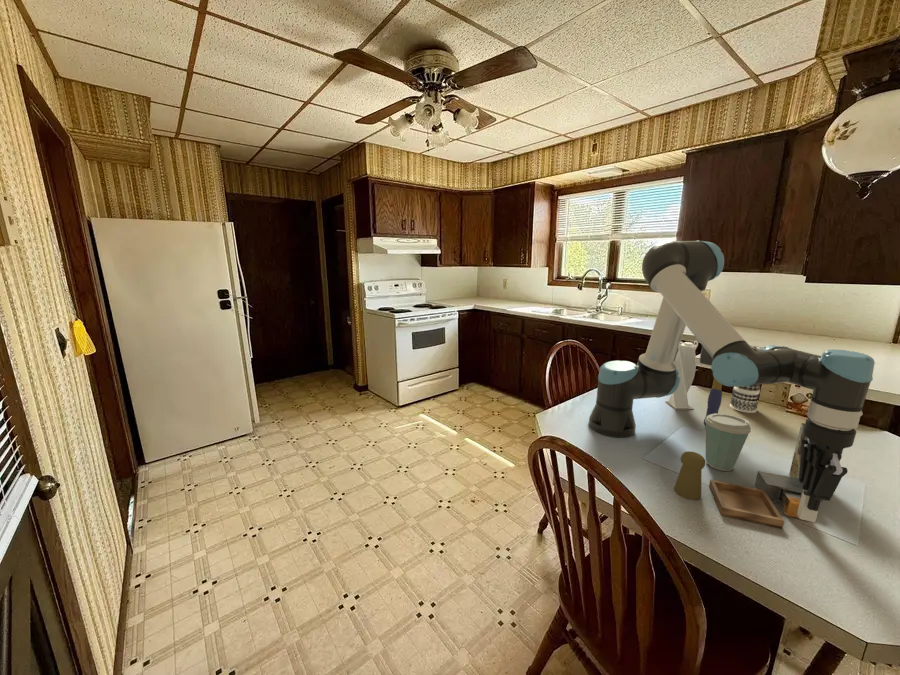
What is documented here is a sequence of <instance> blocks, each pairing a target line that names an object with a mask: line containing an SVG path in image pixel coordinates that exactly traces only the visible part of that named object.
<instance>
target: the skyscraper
mask: <svg viewBox="0 0 900 675" xmlns="http://www.w3.org/2000/svg"><path fill="white" fill-rule="evenodd" d="M698 347H699V341H698V340H694V341H693V342H690V341H685V342H683V341H682V340H681V341H680V344H679V347H678V349H677V352H676V355H675V358H674V360H673V361H674V362H675V364H676V366H677V368H676V369H677V370H678V372H679V375H678V377H680V382H679V386H678V388H677V389H676V391H675V392H674V393H672V394H671V396H670V398H668V399H669V400H668V401H665V403H666V404H667V405H668V406H670V407H671V408H673V410H675V411H676V410H677V411H678V410H679V411H681V410H684V411H685V410H686V411H688V410H690V411H691V410H693V411H694V408H693V407H692V406H690V405H689V401H688V399H689V398H688V392H689V391H690V389H691V386H692V384H693V382H694V379H695V374H696V371H697V370H696V368H697V357H696V356H697V355H696V350H697V349H698Z"/></svg>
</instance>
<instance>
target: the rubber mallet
mask: <svg viewBox="0 0 900 675" xmlns="http://www.w3.org/2000/svg"><path fill="white" fill-rule="evenodd" d="M699 355H700V356H699V363H700V364H702V365H707V366H711V365H712V362H713V360H714V359H713V358H712V357H711V356H710V354H709V353H708V352H707V351H706V349H705V348H704V347H703V346H702V345H701V350H700V354H699ZM722 387H723V384H721V383H719V382H718V381H717V380H716V379H715V378H714V377H713V381H712V387H711V389H710V391H709V394H708V398H707V409H706V414H705V417H704V420H703V425H704V427H705V428H706V422H705V420H706V417H707V416H708V415H710V414H714V413H718V414H719V410H720V408H721V405H722V399H723V398H722V396H723V391H722Z"/></svg>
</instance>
